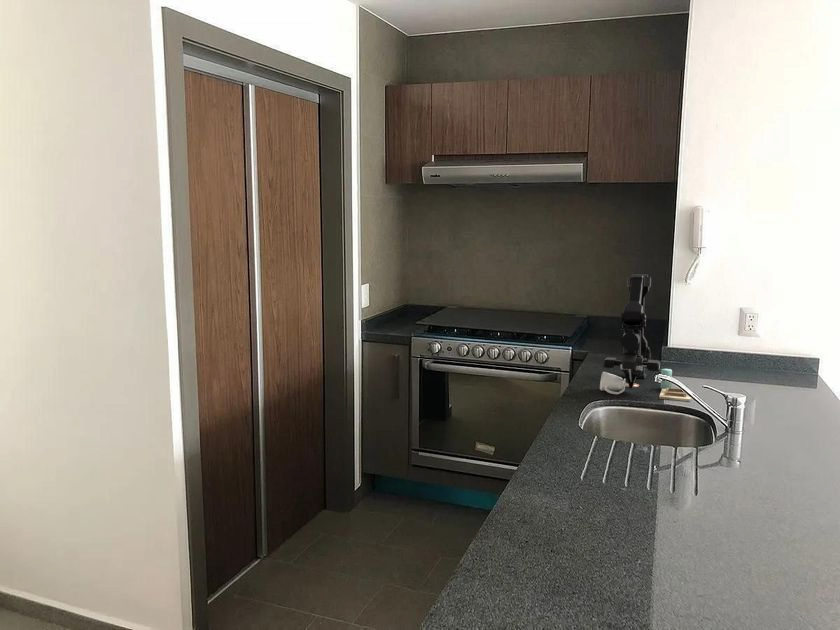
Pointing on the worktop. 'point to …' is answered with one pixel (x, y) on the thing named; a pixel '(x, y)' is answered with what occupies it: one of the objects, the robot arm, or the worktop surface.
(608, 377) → the cup
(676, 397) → the board
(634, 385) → the peach flat disc
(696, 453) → the worktop surface
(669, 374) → the peg
